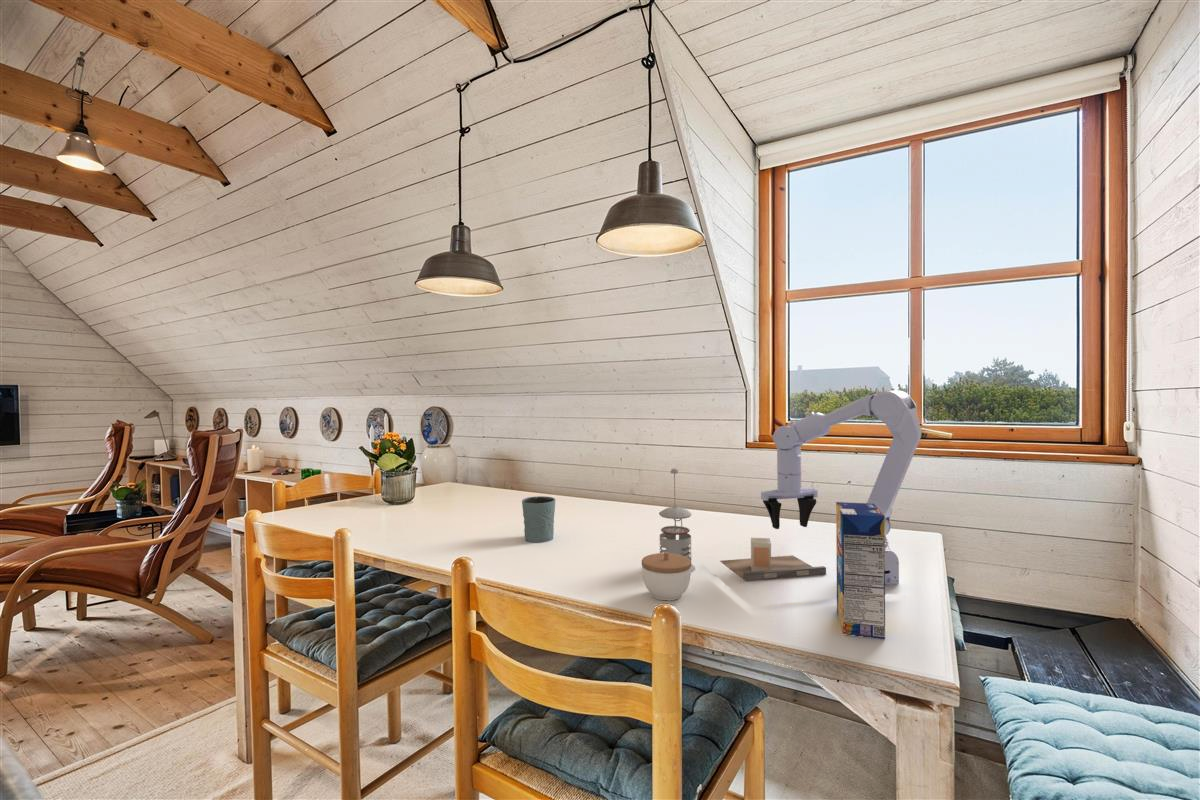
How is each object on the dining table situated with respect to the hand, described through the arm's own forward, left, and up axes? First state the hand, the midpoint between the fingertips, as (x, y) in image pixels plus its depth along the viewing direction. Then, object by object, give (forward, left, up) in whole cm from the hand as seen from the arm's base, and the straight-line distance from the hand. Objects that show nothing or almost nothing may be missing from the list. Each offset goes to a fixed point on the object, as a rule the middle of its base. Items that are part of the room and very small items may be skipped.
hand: (789, 527), depth 140 cm
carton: (-5, +10, -8) cm, 14 cm away
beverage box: (-35, +5, -10) cm, 37 cm away
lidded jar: (-13, +36, -10) cm, 40 cm away
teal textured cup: (+39, +60, -10) cm, 72 cm away
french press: (+5, +28, -10) cm, 30 cm away
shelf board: (-4, +7, -10) cm, 13 cm away
